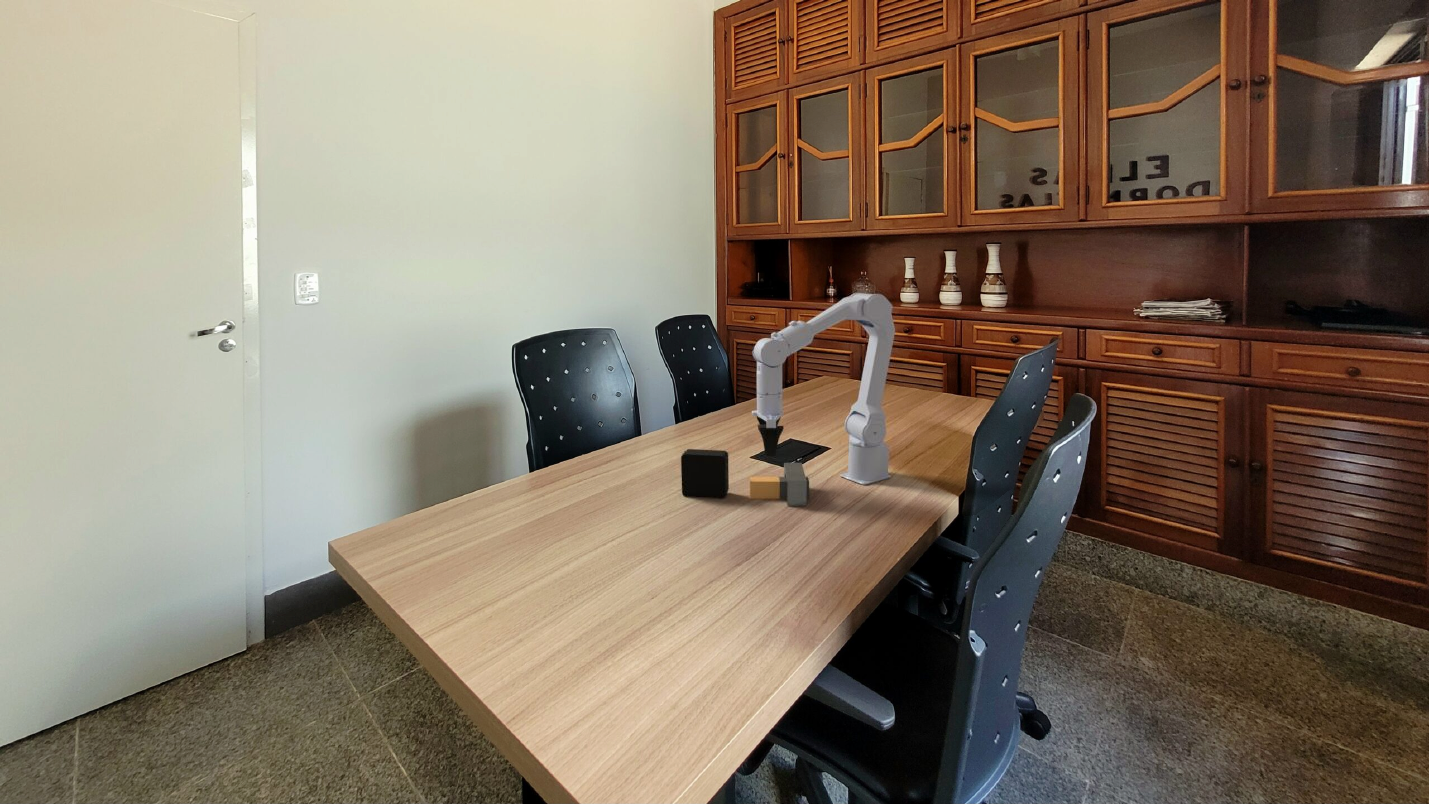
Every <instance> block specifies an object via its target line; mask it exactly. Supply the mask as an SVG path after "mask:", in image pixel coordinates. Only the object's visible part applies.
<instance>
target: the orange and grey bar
mask: <svg viewBox="0 0 1429 804" xmlns="http://www.w3.org/2000/svg"><path fill="white" fill-rule="evenodd" d="M806 480H807V493H806V500H808V499H810V479H809V476H806ZM786 486H787V478H786V477H784V476H749V497H750V498H749V499H763V500H764V499H767V500H768V499H769V500H770V499H771V500H773V499H778V500H779V499H785V500H786Z"/></svg>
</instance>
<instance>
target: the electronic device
mask: <svg viewBox="0 0 1429 804" xmlns="http://www.w3.org/2000/svg"><path fill="white" fill-rule="evenodd" d="M680 467H681V468H680V471H681V474H680V475H681V494H682V496H683V497H686V498H699V499H700V498H703V499H717V500H719V499H721V500H722V499H724V498H726V496H727V494H728V492H729V489H730V488H729V478H730V477H729V474H730V473H729V471H730V470H729V452H727V451H726V450H721V449H720V450H719V449H718V450H716V449H695V448H688V449H686V450H684V451H683V452H682V453H681V457H680Z"/></svg>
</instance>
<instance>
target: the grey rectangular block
mask: <svg viewBox="0 0 1429 804" xmlns="http://www.w3.org/2000/svg"><path fill="white" fill-rule="evenodd" d="M783 477H786V478H787V486H786V499H785V500H786V505H787V507H807V499H806V493H807V480H806V477H807V476H806V474H805V470H804V466H803V464H802V462H784V463H783Z"/></svg>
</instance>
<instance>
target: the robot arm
mask: <svg viewBox="0 0 1429 804" xmlns="http://www.w3.org/2000/svg"><path fill="white" fill-rule="evenodd" d="M892 313H893V304H892V303H891V302H890V301H889V300H888V299H887V297H885V296H884V295H883V294H881V293H863V292H854V293H852V294H851V295H849V296H846V297H843V298H842V299H841V300H839V301H838V302H837V303H834V304H833V305H832V306H830V307H828V308H827V309H825V310H824V311H822V312H821V313H819V314H817V315H816V316H814V317H813V318H811V319H810V320H808V321H807V322H805V321H803V320H798V321H796V320H792V321H790V322H788V326H786V327H785V328H783V329H781V330H780V331H777V332H772V333H771V334H770V335H771V336H770V338H769V337H765V338H763V337H762V338H761V339H759V340H758V341H757V342H756V344H755V345H754V347H753V350H752V357H753V358H754V360H755V361H756V410H751V415H752V416H756V420H757V422H758V424H757V429H758V431H759V433H760V435H761V438H762V442H763V449H764V453H765V456H766V457H775V456H776V455H777V451H778V447H779V446H778V445H779V440H780V438H781V435H782V433H783V431H784V429H785V428H784V425H779V423H780V421H781V418H782V417H783V415H784V411H783V364H784V363H785V362H786V359H787V357H789V356H791V355H793V354H794V353H796V352H797V351H800V350H801V349H803V348H805V347H806V346H809V345H810V344H812V342H813V340H814V337H815V335H817V334H819V333H821V332H823V331H825V330H827V329H829V328H831V327H833V326H835V325H837V324H839V323H840V322H843V321H845V320H849V321H850V320H851V321H855V322H856V323H858V324H859V325H860V326H862V328H863V329H864V330H865V331H866V333H867V334H868V336H869V338H868V344H867V347H866V348H867V350H866V354H865V360H864V366H863V370H862V375H861V380H860V386H859V392H858V398H857V401H856V402H855V403H853V404H852V405H851V408H850V411H849V413H848V415H847V417H846V418H845V421H844V429H845V431H846V433H847V434H848V459H847V460H848V464H847V472H843V473H841V474H840V475H839V476H840V477H842V478H845V479H846V480H849V481H852V482H854V483H858V484H860V485H864V486H865V485H871V484H872V483H876V482H879V481H883V480H886V479H890V478H891V477H892V476H891V474H889V461H890V451H889V450H890V449H889V447H888V444H887V443H886V442H885V441H884V440H885V437H886V436H887V426H886V416H887V415H886V413H885V411H884V408H883V407H882V401H883V396H884V391H885V386H886V381H887V376H888V370H889V365H890V361H891V360H890V359H891V355H892V348H893V344H894V339H895V333H896V329H895V323H894V319H893V315H892Z"/></svg>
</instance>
